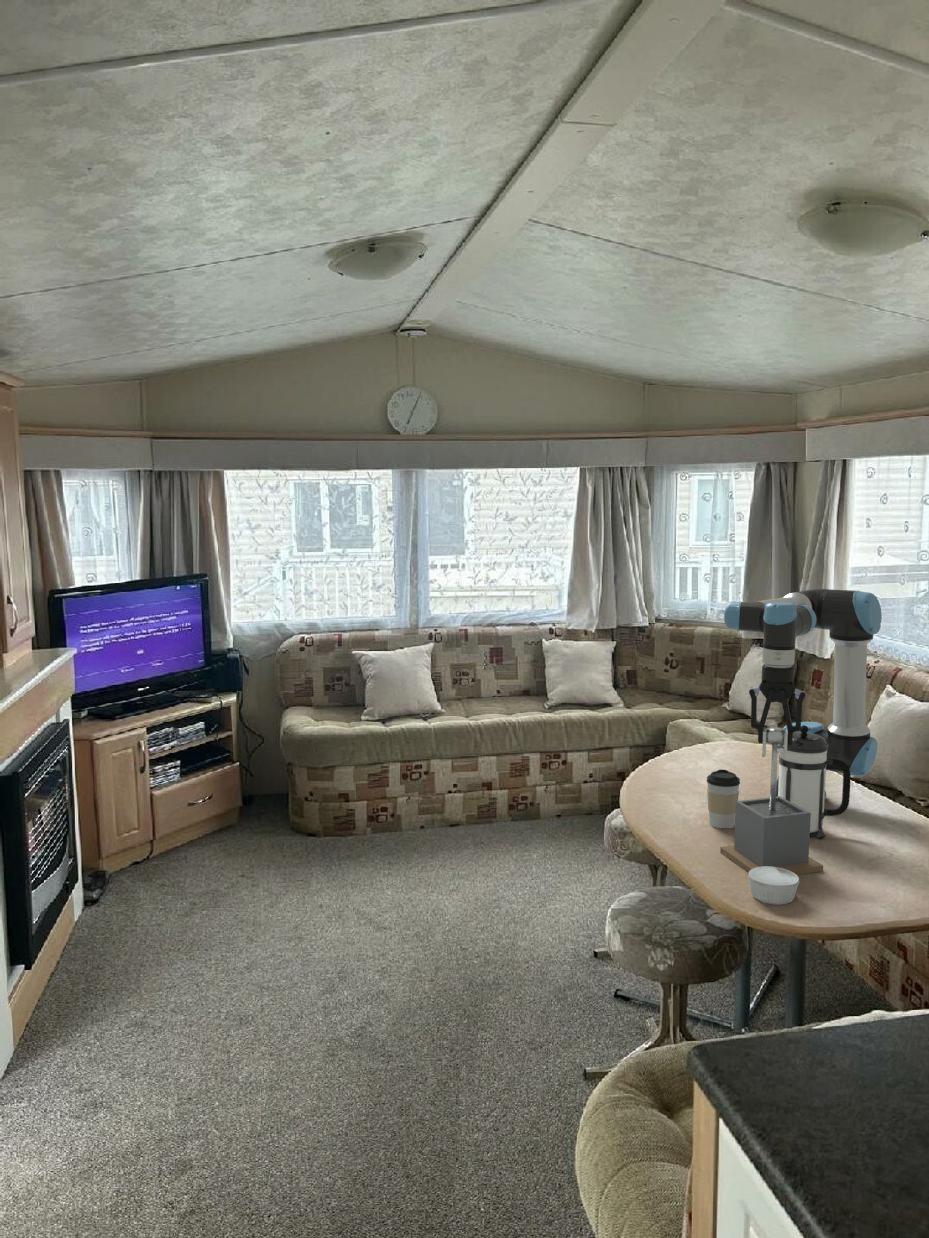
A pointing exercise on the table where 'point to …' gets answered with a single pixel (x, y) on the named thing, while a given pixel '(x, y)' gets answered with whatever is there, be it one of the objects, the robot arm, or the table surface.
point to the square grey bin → (772, 839)
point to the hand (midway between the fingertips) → (774, 756)
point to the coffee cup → (722, 798)
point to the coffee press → (810, 777)
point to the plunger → (773, 777)
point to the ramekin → (773, 884)
